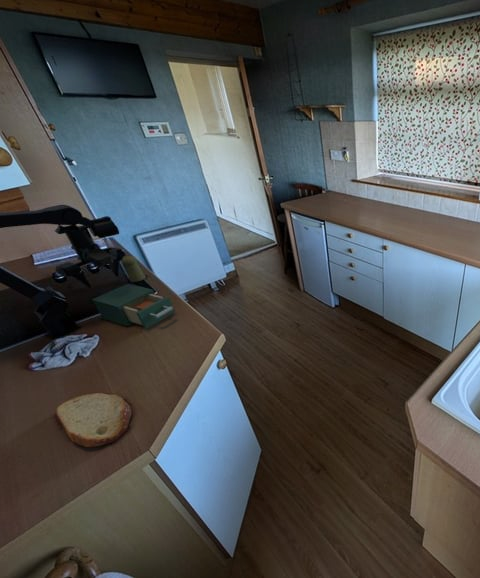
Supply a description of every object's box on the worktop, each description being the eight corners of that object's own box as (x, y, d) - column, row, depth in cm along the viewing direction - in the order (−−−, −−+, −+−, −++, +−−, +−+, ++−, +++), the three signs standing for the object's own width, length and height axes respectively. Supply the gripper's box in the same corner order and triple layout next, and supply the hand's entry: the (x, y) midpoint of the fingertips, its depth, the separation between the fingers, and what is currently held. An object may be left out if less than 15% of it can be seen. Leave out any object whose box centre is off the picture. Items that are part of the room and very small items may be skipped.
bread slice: (65, 403, 78) (58, 394, 76) (145, 385, 83) (140, 376, 82) (22, 469, 63) (11, 459, 61) (122, 442, 69) (115, 432, 67)
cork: (127, 282, 133) (116, 260, 128) (133, 276, 138) (122, 255, 133) (142, 281, 135) (132, 259, 129) (147, 275, 140) (138, 254, 134)
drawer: (183, 313, 112) (177, 298, 109) (154, 331, 103) (147, 315, 99) (152, 305, 117) (145, 290, 113) (121, 321, 107) (113, 306, 104)
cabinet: (161, 308, 116) (153, 289, 112) (128, 326, 106) (117, 306, 102) (137, 301, 120) (128, 283, 116) (103, 318, 110) (91, 299, 106)
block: (149, 319, 107) (144, 309, 105) (140, 316, 108) (135, 307, 106) (160, 312, 110) (156, 303, 108) (152, 310, 112) (147, 300, 109)
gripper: (64, 256, 91) (89, 298, 99) (127, 236, 106) (144, 274, 114) (42, 251, 94) (68, 292, 102) (106, 232, 110) (124, 269, 117)
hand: (104, 281), depth 109 cm, fingers open, 9 cm apart
